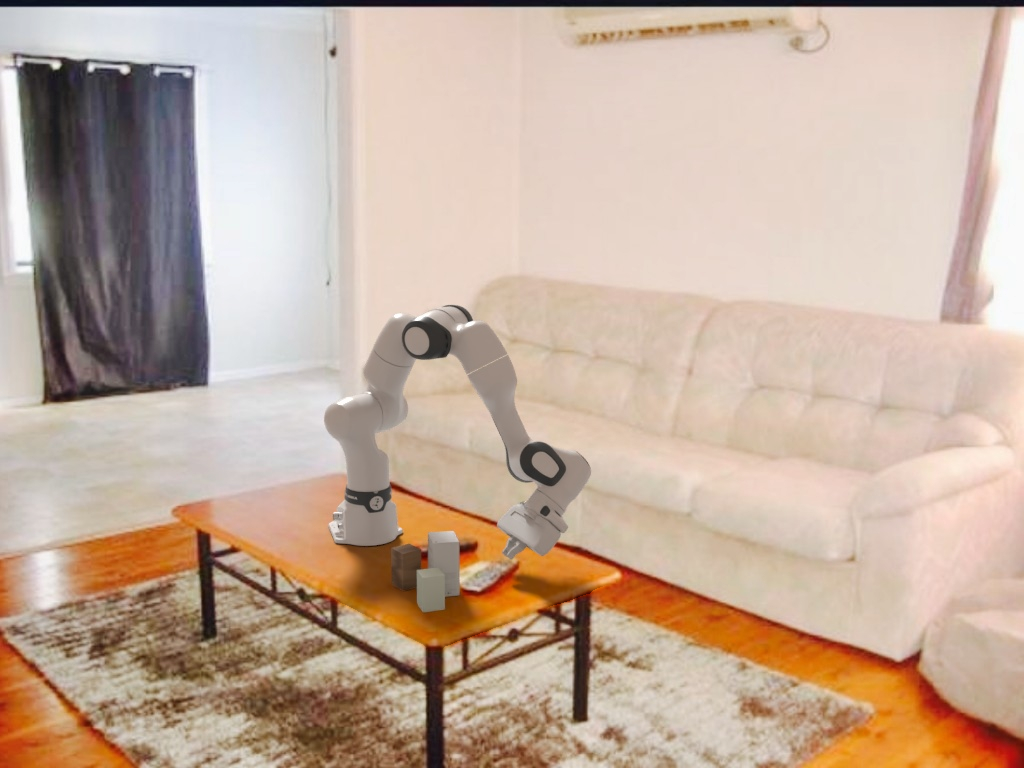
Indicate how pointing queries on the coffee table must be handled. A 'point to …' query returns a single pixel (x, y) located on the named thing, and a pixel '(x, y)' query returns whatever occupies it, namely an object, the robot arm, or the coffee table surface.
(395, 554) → the walnut block
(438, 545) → the small box
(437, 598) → the sage block
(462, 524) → the coffee table surface
